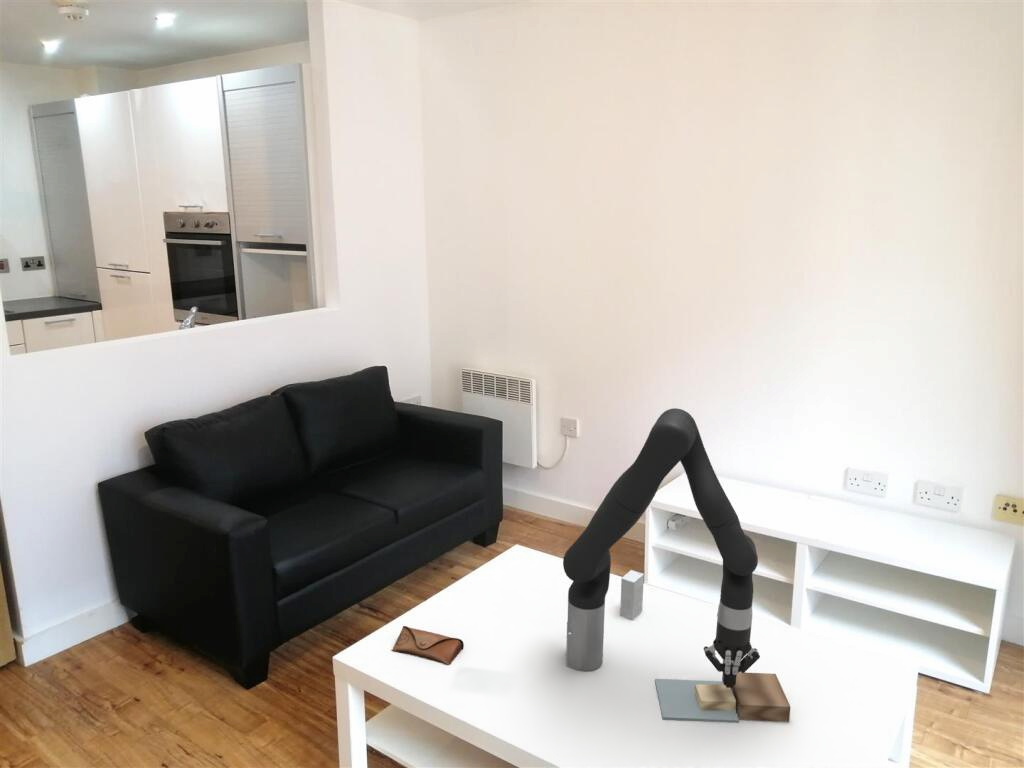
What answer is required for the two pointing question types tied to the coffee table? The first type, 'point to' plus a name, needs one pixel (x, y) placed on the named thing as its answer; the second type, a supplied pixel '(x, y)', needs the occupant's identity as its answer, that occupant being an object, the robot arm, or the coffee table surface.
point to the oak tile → (715, 697)
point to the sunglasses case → (428, 645)
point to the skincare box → (631, 594)
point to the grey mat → (687, 702)
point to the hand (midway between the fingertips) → (728, 685)
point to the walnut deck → (760, 698)
